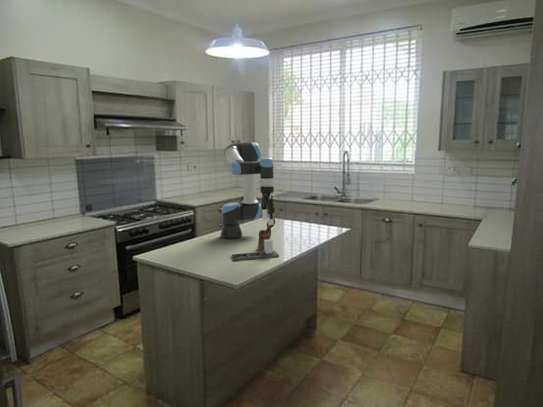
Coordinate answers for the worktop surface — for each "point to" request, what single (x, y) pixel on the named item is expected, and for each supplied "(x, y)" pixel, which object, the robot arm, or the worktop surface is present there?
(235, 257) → the dark grey slotted board
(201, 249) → the worktop surface
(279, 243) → the worktop surface
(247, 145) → the robot arm
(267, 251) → the steel peg
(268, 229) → the wooden mug
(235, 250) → the worktop surface
